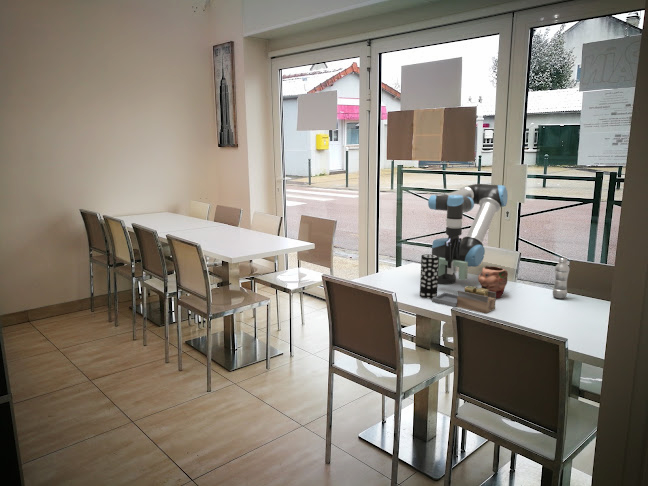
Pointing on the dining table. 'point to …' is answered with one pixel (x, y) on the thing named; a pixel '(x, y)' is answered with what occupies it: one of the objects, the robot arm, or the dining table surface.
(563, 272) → the plastic bottle
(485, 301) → the slot ledge
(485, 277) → the decorative planter
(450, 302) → the tray
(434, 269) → the spotted tube
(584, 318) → the dining table surface
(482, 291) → the yellow rock
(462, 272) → the mint green arch block
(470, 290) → the brass block
